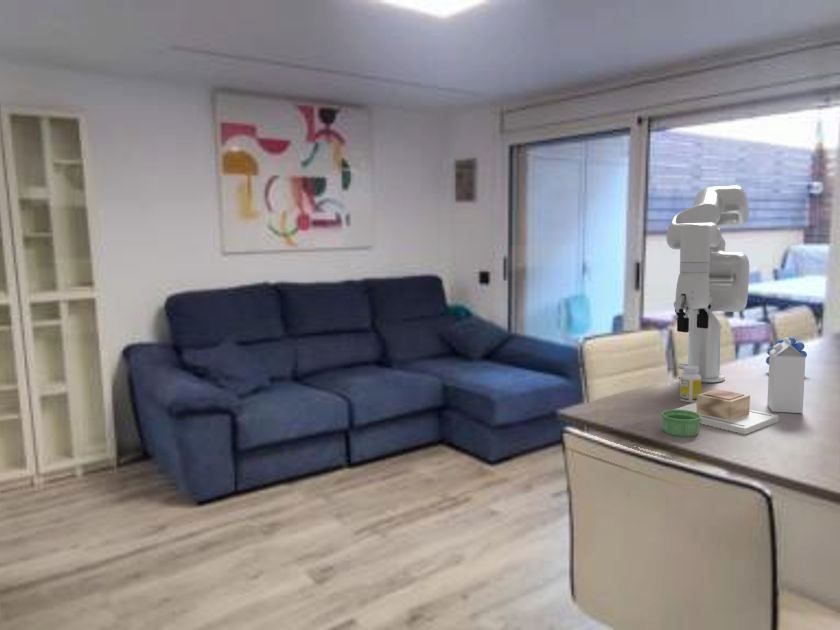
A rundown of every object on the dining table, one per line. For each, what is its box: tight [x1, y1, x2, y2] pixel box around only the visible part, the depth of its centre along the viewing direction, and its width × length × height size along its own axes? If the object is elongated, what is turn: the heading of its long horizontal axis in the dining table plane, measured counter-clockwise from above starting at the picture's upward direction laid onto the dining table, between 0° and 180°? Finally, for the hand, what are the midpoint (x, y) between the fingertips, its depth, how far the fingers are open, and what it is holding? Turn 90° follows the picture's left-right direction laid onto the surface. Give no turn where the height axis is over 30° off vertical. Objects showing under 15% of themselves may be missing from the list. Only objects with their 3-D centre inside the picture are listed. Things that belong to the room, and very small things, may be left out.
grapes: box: [765, 337, 808, 366], centre depth 211 cm, size 12×7×12 cm, turn 60°
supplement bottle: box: [679, 366, 702, 404], centre depth 181 cm, size 5×5×10 cm
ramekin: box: [660, 408, 702, 437], centre depth 154 cm, size 9×9×4 cm
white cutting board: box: [675, 402, 779, 435], centre depth 163 cm, size 20×16×2 cm
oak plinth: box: [696, 388, 751, 420], centre depth 163 cm, size 9×9×5 cm
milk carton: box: [767, 336, 806, 414], centre depth 169 cm, size 7×7×19 cm
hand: (692, 329), depth 179 cm, fingers open, 9 cm apart
